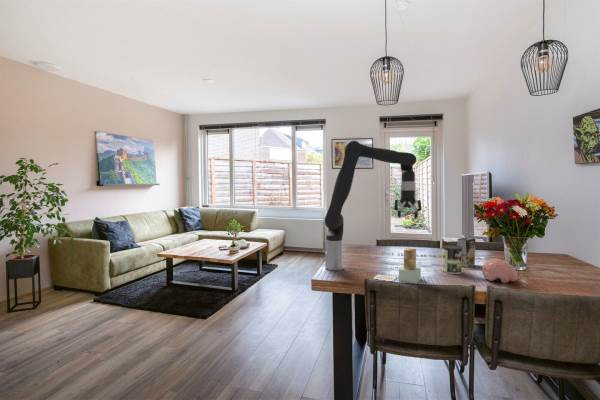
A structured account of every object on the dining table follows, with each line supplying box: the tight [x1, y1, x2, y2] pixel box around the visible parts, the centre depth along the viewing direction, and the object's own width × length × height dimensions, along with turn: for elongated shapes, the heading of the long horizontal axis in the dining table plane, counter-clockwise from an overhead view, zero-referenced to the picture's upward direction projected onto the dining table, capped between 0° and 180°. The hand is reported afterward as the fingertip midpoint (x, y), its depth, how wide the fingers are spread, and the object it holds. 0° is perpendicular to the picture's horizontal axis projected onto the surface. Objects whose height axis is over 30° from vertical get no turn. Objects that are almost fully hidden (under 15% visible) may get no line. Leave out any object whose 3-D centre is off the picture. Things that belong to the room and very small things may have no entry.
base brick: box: [398, 264, 422, 284], centre depth 168 cm, size 9×9×6 cm
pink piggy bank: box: [481, 258, 518, 284], centre depth 164 cm, size 16×13×12 cm
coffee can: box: [441, 244, 462, 275], centre depth 181 cm, size 10×10×14 cm
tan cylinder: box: [403, 247, 417, 270], centre depth 167 cm, size 5×5×10 cm
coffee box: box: [456, 236, 476, 268], centre depth 193 cm, size 9×6×16 cm
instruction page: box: [372, 274, 397, 282], centre depth 171 cm, size 10×8×1 cm
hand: (407, 218), depth 182 cm, fingers open, 8 cm apart
